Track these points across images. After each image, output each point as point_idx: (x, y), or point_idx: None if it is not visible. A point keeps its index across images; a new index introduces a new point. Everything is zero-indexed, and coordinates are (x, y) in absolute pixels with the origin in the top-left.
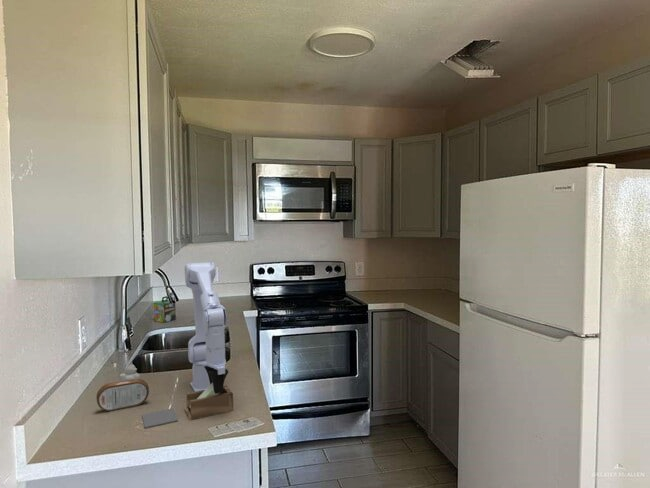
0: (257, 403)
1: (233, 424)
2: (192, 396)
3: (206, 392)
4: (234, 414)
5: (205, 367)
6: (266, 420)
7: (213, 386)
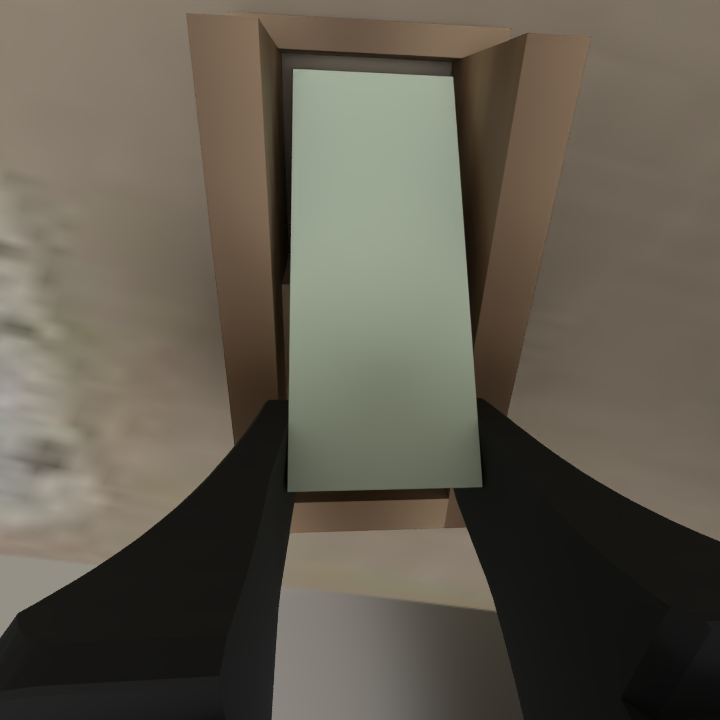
0: (296, 564)
1: (7, 371)
2: (496, 126)
3: (377, 314)
4: (189, 417)
5: (705, 635)
6: (14, 551)
7: (262, 443)
